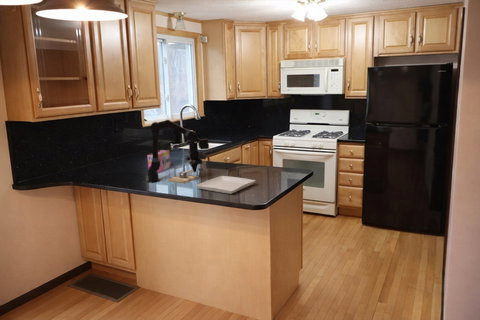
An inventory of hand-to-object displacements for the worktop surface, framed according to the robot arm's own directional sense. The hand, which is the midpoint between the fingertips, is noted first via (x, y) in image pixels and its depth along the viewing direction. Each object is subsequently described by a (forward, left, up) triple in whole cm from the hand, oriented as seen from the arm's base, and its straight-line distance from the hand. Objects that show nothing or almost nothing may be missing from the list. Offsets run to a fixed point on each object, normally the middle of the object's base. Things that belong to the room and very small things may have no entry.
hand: (194, 172), depth 274 cm
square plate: (-11, -33, -5) cm, 35 cm away
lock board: (-7, +5, -4) cm, 9 cm away
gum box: (+11, +43, -4) cm, 44 cm away
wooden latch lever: (-3, +5, -2) cm, 6 cm away
